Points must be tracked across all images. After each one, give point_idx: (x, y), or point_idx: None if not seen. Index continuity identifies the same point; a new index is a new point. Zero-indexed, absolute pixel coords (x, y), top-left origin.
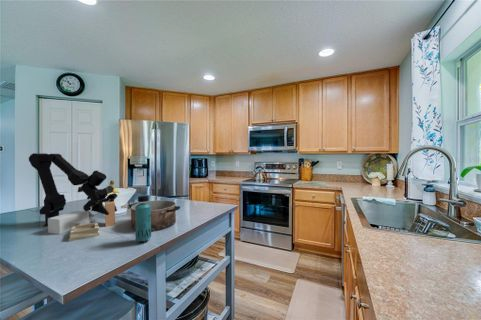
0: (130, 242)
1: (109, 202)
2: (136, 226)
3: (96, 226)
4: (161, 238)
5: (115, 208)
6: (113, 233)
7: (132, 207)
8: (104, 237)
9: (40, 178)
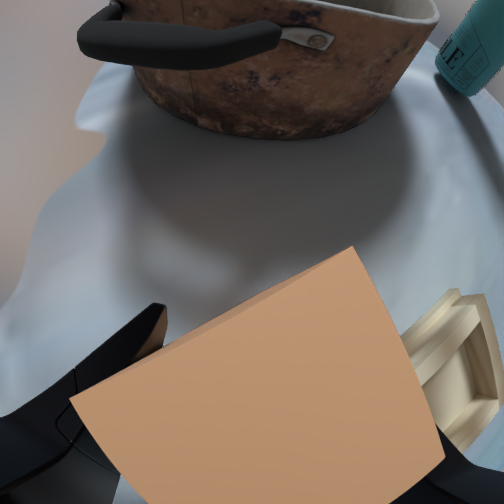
0: (467, 118)
1: (246, 492)
2: (500, 67)
3: (461, 331)
4: None
5: (149, 329)
6: (423, 217)
7: (338, 16)
8: (464, 242)
9: None
